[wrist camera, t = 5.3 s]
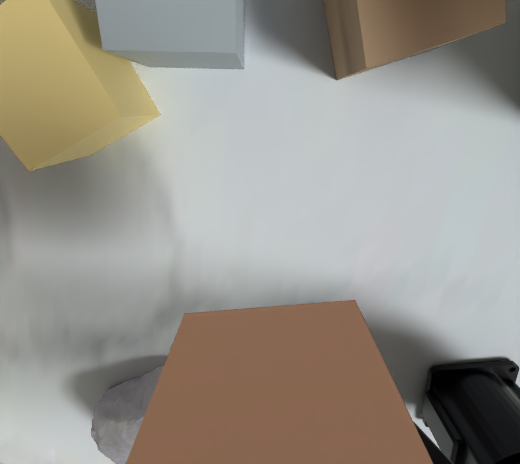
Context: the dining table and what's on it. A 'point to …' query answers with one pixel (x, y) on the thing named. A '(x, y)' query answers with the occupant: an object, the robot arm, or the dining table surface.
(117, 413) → the stone block
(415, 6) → the walnut cube
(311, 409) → the terracotta cube
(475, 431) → the robot arm
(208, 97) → the dining table surface
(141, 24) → the slate cube
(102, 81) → the ochre cube
